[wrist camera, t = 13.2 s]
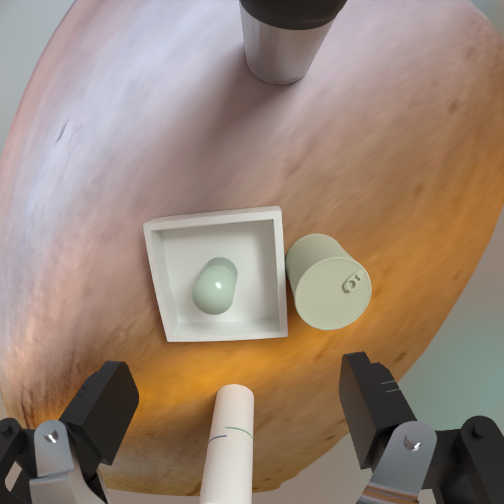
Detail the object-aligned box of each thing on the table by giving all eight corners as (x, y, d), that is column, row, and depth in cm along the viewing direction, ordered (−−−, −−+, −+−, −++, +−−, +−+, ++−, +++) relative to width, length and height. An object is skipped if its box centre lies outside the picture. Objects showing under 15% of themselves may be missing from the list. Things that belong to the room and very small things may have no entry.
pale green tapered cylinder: (201, 258, 41) (188, 278, 33) (235, 255, 41) (230, 275, 33) (206, 290, 42) (195, 316, 34) (239, 288, 42) (235, 313, 34)
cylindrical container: (210, 388, 49) (188, 502, 25) (245, 380, 48) (238, 500, 24) (225, 411, 51) (213, 518, 27) (259, 404, 50) (258, 515, 26)
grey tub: (155, 217, 40) (142, 224, 35) (278, 205, 40) (281, 210, 35) (175, 325, 45) (167, 341, 40) (284, 319, 44) (287, 336, 40)
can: (356, 264, 42) (387, 297, 30) (311, 303, 44) (327, 346, 32) (319, 220, 40) (343, 240, 28) (271, 262, 42) (277, 297, 30)
